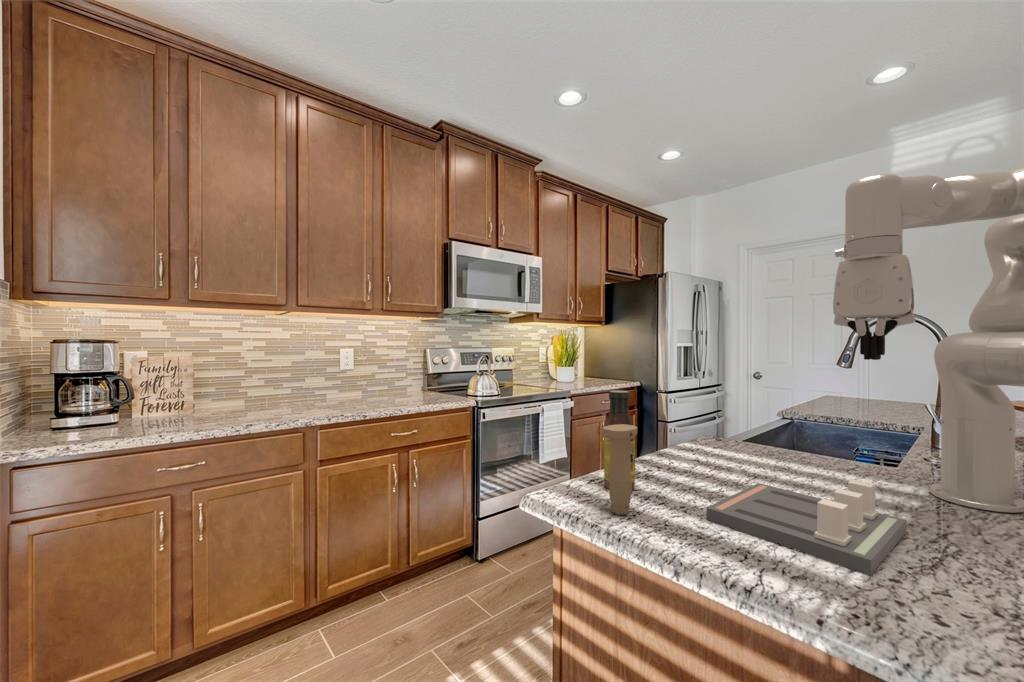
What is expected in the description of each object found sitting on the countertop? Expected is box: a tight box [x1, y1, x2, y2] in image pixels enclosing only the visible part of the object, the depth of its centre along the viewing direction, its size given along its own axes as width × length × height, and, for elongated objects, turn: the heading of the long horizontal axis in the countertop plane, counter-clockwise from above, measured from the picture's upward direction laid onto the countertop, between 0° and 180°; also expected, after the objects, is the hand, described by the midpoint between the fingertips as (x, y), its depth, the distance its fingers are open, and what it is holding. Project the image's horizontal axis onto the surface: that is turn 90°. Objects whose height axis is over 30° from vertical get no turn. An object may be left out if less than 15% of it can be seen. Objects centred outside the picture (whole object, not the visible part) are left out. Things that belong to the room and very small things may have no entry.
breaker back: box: [847, 479, 879, 520], centre depth 70 cm, size 3×4×5 cm
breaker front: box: [814, 498, 851, 547], centre depth 62 cm, size 3×4×5 cm
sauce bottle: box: [603, 389, 636, 491], centre depth 89 cm, size 7×6×20 cm
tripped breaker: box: [833, 488, 866, 532], centre depth 66 cm, size 3×4×5 cm
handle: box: [602, 424, 638, 516], centre depth 77 cm, size 5×6×15 cm
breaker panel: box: [705, 482, 908, 576], centre depth 71 cm, size 20×22×2 cm
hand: (872, 359), depth 74 cm, fingers closed
